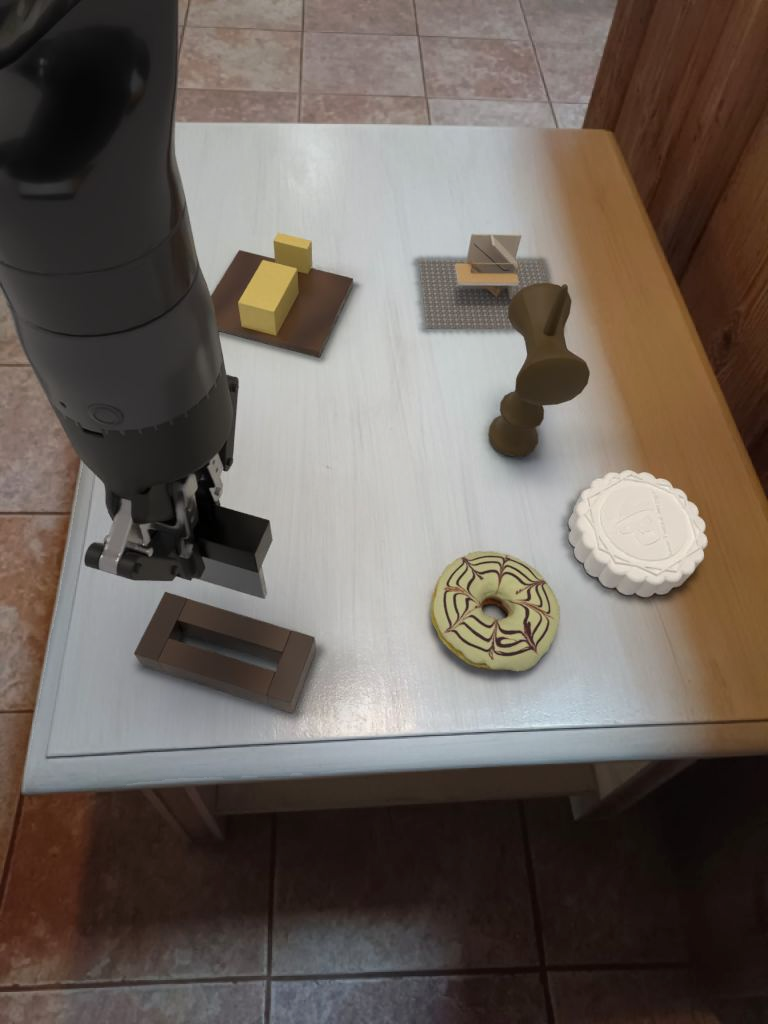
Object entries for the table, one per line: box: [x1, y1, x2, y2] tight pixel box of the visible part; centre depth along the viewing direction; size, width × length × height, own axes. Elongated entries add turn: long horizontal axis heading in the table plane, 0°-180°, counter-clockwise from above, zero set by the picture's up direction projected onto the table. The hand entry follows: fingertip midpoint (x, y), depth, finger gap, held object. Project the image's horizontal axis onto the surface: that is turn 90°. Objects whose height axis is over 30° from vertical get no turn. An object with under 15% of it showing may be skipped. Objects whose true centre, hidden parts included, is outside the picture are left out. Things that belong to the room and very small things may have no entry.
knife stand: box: [133, 591, 317, 714], centre depth 59 cm, size 13×6×3 cm, turn 74°
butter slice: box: [272, 232, 313, 274], centre depth 82 cm, size 4×2×4 cm, turn 74°
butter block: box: [238, 260, 299, 336], centre depth 78 cm, size 4×7×4 cm, turn 164°
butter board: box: [210, 249, 354, 358], centre depth 81 cm, size 14×12×1 cm
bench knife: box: [107, 499, 273, 600], centre depth 45 cm, size 9×2×8 cm, turn 74°
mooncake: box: [568, 469, 709, 598], centre depth 66 cm, size 12×12×4 cm
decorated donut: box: [430, 550, 561, 672], centre depth 61 cm, size 10×11×4 cm
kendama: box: [488, 282, 591, 458], centre depth 65 cm, size 6×10×20 cm, turn 1°
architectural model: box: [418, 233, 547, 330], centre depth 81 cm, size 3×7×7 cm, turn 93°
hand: (197, 549), depth 45 cm, fingers closed on bench knife, 2 cm apart
